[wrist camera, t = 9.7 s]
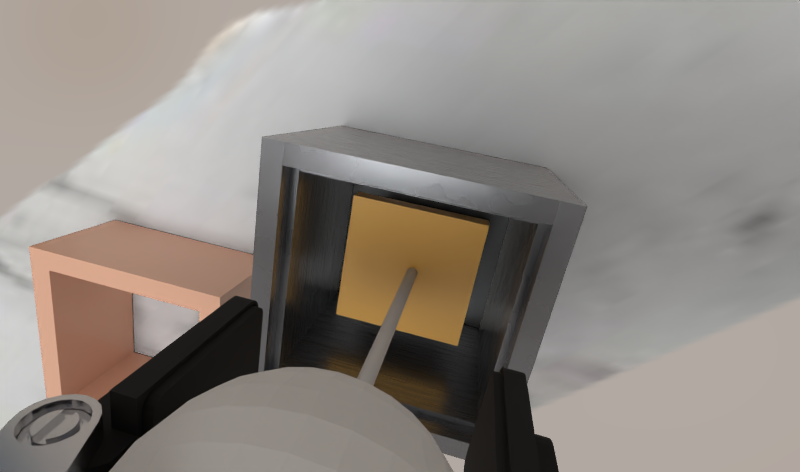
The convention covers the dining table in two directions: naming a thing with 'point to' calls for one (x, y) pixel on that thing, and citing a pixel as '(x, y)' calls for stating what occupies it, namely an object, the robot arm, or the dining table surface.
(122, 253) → the tool holder
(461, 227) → the tan square block
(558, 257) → the box
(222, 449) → the lollipop
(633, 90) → the dining table surface
